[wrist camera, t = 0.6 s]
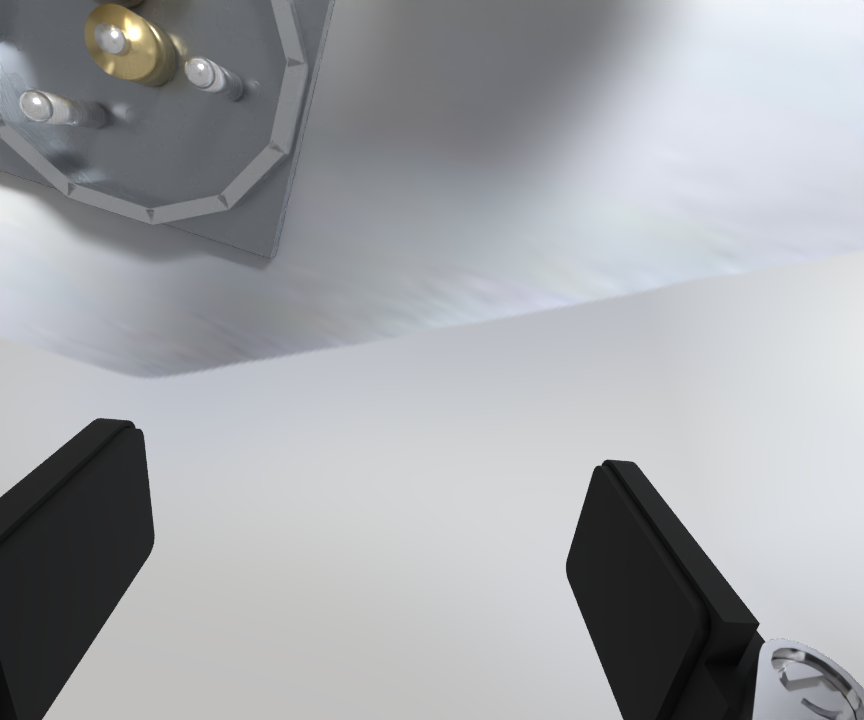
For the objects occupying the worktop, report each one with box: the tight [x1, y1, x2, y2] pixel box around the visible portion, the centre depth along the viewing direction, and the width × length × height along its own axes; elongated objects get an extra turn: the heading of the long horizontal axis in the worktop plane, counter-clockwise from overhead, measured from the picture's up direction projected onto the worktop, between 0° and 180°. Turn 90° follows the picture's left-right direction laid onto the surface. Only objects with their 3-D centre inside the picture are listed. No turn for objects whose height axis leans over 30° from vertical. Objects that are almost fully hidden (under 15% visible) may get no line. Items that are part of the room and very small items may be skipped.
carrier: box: [0, 0, 335, 259], centre depth 28 cm, size 20×20×7 cm
